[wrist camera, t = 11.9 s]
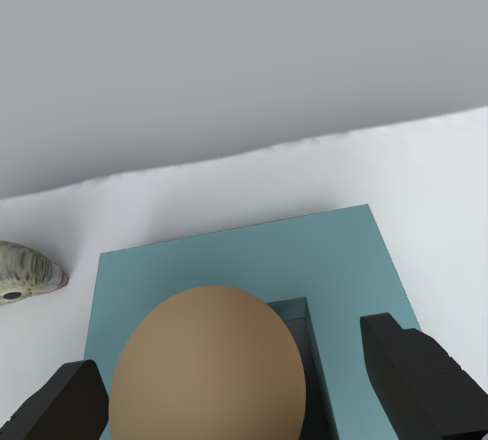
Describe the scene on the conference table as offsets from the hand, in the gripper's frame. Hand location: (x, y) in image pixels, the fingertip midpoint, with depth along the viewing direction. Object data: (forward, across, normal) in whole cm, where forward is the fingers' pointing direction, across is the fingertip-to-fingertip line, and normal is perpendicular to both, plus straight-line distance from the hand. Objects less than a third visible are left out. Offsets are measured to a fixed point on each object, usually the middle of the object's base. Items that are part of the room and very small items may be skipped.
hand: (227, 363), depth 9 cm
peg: (+5, 0, +6) cm, 7 cm away
